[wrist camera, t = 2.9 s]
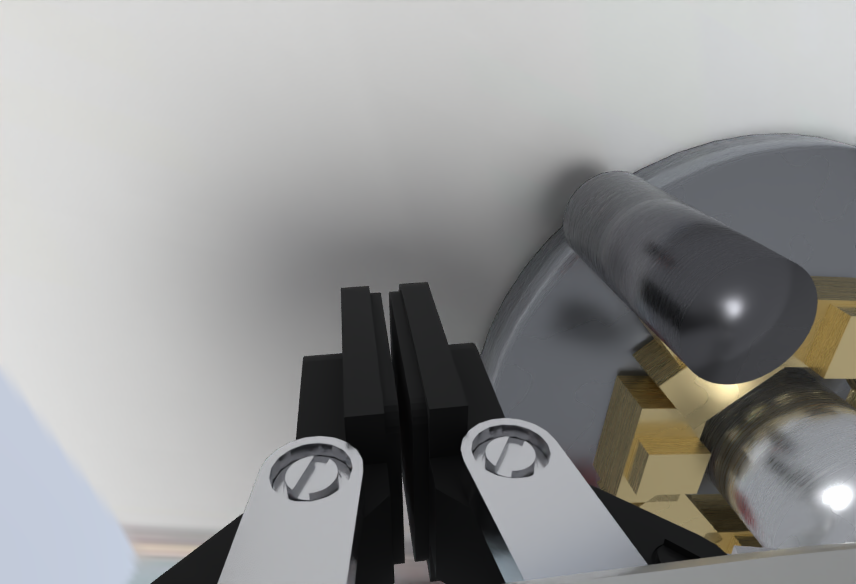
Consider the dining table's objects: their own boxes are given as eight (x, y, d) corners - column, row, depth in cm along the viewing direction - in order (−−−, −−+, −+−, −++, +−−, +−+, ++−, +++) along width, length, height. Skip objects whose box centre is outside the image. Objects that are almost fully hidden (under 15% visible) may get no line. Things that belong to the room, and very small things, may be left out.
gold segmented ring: (942, 420, 20) (1152, 562, 15) (690, 578, 22) (799, 754, 16) (760, 41, 14) (1015, 58, 8) (428, 308, 15) (472, 455, 10)
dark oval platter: (932, 466, 24) (1120, 610, 18) (543, 607, 25) (605, 791, 19) (961, 44, 17) (1296, 60, 11) (400, 259, 17) (431, 385, 11)
